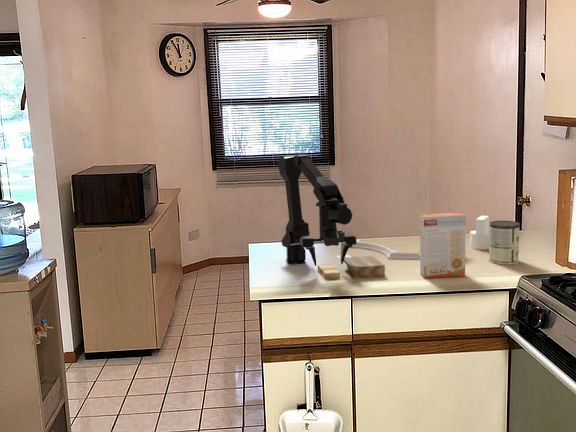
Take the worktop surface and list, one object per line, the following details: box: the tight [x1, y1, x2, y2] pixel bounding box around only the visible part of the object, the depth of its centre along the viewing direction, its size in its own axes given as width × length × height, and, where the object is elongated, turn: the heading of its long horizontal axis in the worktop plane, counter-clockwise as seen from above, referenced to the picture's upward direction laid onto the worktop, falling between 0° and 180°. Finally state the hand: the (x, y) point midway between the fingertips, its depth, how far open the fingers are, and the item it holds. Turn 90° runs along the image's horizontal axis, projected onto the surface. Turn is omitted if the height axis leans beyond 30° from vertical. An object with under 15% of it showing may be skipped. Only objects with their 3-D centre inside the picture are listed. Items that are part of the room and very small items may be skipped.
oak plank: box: [317, 263, 341, 280], centre depth 212 cm, size 12×5×2 cm, turn 10°
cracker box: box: [419, 212, 467, 279], centre depth 205 cm, size 14×6×21 cm, turn 92°
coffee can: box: [488, 220, 521, 265], centre depth 221 cm, size 10×10×14 cm
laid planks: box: [343, 255, 386, 279], centre depth 213 cm, size 12×14×4 cm
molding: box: [349, 238, 420, 261], centre depth 245 cm, size 42×12×3 cm, turn 33°
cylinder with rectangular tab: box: [469, 215, 490, 250], centre depth 244 cm, size 9×9×12 cm
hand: (328, 264), depth 212 cm, fingers open, 9 cm apart
